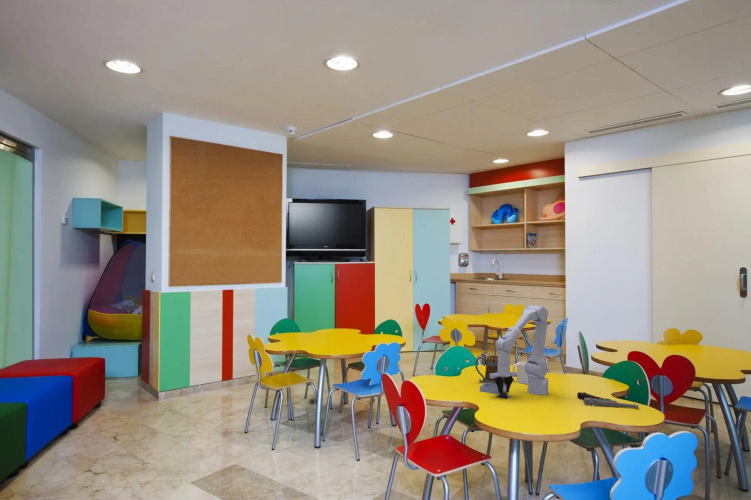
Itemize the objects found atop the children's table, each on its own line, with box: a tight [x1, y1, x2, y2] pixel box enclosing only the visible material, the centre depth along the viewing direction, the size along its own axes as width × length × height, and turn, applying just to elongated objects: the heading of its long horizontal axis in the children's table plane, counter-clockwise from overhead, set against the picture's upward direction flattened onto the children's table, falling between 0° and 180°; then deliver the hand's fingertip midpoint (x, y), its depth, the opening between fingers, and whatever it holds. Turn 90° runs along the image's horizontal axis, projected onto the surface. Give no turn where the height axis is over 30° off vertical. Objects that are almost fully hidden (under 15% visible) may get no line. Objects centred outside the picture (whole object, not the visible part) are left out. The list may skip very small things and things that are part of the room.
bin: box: [479, 382, 500, 395], centre depth 229 cm, size 9×9×4 cm
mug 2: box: [512, 361, 528, 386], centre depth 252 cm, size 13×10×10 cm
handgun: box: [576, 391, 639, 409], centre depth 216 cm, size 3×24×15 cm
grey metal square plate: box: [495, 393, 512, 400], centre depth 219 cm, size 6×6×1 cm
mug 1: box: [474, 354, 505, 384], centre depth 245 cm, size 16×11×15 cm
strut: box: [498, 383, 509, 397], centre depth 219 cm, size 4×4×6 cm
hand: (503, 392), depth 219 cm, fingers closed on strut, 3 cm apart
